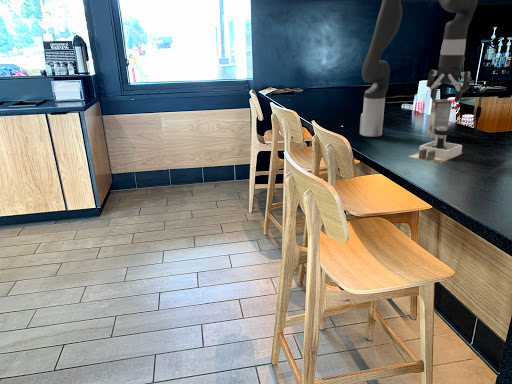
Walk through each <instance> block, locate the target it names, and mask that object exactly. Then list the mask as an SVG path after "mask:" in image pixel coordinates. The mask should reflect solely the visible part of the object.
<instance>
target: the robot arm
mask: <svg viewBox="0 0 512 384" xmlns="http://www.w3.org/2000/svg"><path fill="white" fill-rule="evenodd" d="M437 1H438V2H439V5H440V6H441V8H442V9H443V10H445V11H447V12H449V13H454V14H455V13H456V14H455V17H454V19H453V20H450V21H448V22H446V24H445V27H444V33H443V41H442V44H441V49H440V54H439V60H438V61H439V62H438V69H437V70H436V69H430V70H429V71H428V76H427V80H426V87H427V88H429V89H430V99H431V100H435V99H437V94H438V87H439V86H440V85H441V84H449V85H451V84H452V85H453V87H454V88H455V89H456V91H455V96H454V97H455V98H454V103H458V102H460V101H461V100H462V95H463V92H464V91H465V90H469V88H470V81H471V74H472V73H471V71H462V69H463V68H462V67H463V63H464V57H465V51H466V46H467V45H466V43H467V35H468V27H469V25H470V23H471V21H472V18H473V16H474V14H475V11H476V9H477V6H478V1H479V0H437ZM402 18H403V6H402V2H401V0H382V2H381V6H380V9H379V13H378V16H377V19H376V23H375V24H376V25H375V27H374V31H373V36H372V40H371V42H370V44H369V45H370V46H369V49H368V51H367V54H366V57H365V60H364V62H363V65H362V69H361V77H362V80H363V81H364V82H365V83H369V84H370V83H372V85H371V86H370V87H369V88H368V89H366V90H365V91H364V94H363V108H362V113H361V114H360V123H359V135H361V136H363V137H370V138H371V137H372V138H373V137H375V138H376V137H381V136H382V135H383V134H382V133H383V125H384V123H383V122H384V115H385V114H384V112H385V102H386V94H387V92H388V89H389V83H390V73H391V67H390V64H389V62H388V61H387V60H384V59H382V60H381V56H382V54H383V52H384V50H385V49H386V47H387V46H388V45H389V44H390V43H391V41H393V39H394V38H395V36H396V35H397V33H398V31H399V28H400V25H401V22H402ZM436 76H437V79H436V80H435V77H436ZM460 77H462V79H463V80H462V82H461V80H460ZM434 80H435V81H434Z"/></svg>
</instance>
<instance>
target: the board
mask: <svg viewBox="0 0 512 384" xmlns="http://www.w3.org/2000/svg"><path fill="white" fill-rule="evenodd" d="M435 152H436V151H434V150H432V151H429V152H428V155H426V153H427V149H422V150H420V151H419V150H418V152H416V153H414V154H412V155H409V156H408V157H409V158H414V159H418V160H422V161H428V162H433V163H438V164H442V163H444V162H446V161H448V160H452V159H453V158H455V157H458V156H460V155H462V154H464V153H463V152H461V153H460V154H457V155H455V156H453V157H450V158H448V159H443V158H438V157H435Z"/></svg>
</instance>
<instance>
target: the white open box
mask: <svg viewBox="0 0 512 384" xmlns="http://www.w3.org/2000/svg"><path fill="white" fill-rule="evenodd" d="M434 145H435V140H432V141H430V142H427V143H423V144H422V145H419V149H418V152H419V151H420V150H422V149H427V153H426V155H428V152H429V151H432V150H434V151H436V152H435V157H438V158H443V159H448V158H450V157H453V156H455V155H457V154H460V153H462V150H463V145H462V144H458V143H452V142H445V145H446V146H445V147H447V149H448V150H443V149H437V148H432V146H434ZM460 155H461V154H460ZM453 158H454V157H453Z"/></svg>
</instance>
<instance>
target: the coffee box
mask: <svg viewBox="0 0 512 384" xmlns="http://www.w3.org/2000/svg"><path fill="white" fill-rule="evenodd" d="M431 100H432V99H431ZM452 104H453V102H452V101H451V100H449V99H446V98H444V99H443V98H442V99H437V98H436V99H435V100H432V101H431V108H430V115H429V125H428V130H427V135H428V136H429V137H430V138H431V139H435V138H436V134H435V133H434V132H435V131H434V129H436V128H437V127H438V126H445V127H448V128H449V124H450V123H449V121H450V115H451V110H452ZM438 137H439V136H438ZM443 138H444V136H443Z"/></svg>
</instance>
